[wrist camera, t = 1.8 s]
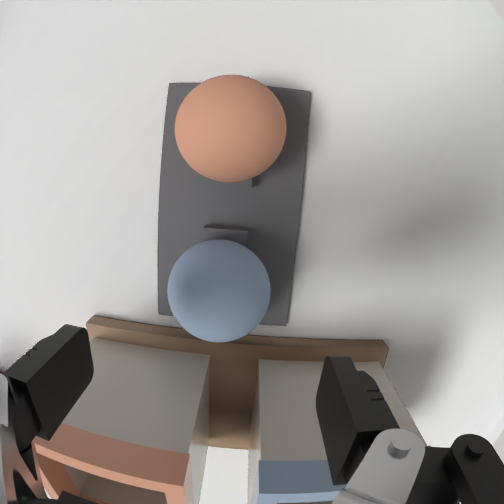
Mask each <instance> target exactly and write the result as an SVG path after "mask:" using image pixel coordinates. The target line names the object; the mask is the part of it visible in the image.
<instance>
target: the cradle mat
mask: <svg viewBox="0 0 504 504" xmlns="http://www.w3.org/2000/svg"><path fill="white" fill-rule="evenodd" d="M199 84H201V83H169V89H168V97H167V106H166V115H165V125H164V135H163V146H162V159H161V174H160V191H159V214H158V314H161V315H169V316H174V315H173V313H172V311H171V308H170V305H169V301H168V293H167V288H168V281H169V276H170V273H171V270H172V268H173V267H174V265H175V263H176V261H177V260H178V259H179V257H180V256H181V255H182V254H183V253H184V252H186V251H187V250H188V249H190V248H191V247H193V246H194V245H196V244H198V243H201V242H204V241H208V240H216V239H221V240H230V241H233V242H236V243H239V244H241V245H243V246H245V247H246V248H248V249H249V250H251V251H252V252H253V253H254V254H255V255H256V256H257V257H258V258H259V259H260V261H261V262H262V263H263V265H264V267H265V269H266V271H267V274H268V277H269V281H270V288H271V291H270V302H269V306H268V309H267V311H266V313H265V315H264V317H263V319H262V320H261V322H260V323H259V324H263V325H278V326H286V321H287V314H288V307H289V300H290V292H291V284H292V277H293V269H294V261H295V252H296V244H297V235H298V226H299V217H300V207H301V198H302V188H303V177H304V166H305V155H306V143H307V131H308V117H309V103H310V91H304V90H296V89H288V88H279V87H269V86H266V87H267V88H268V89H269V90H271V91H272V92H273V94H274V95H275V96H276V97H277V99H278V100H279V102H280V104H281V106H282V108H283V111H284V114H285V118H286V137H285V142H284V145H283V148H282V150H281V152H280V154H279V156H278V157H277V159H276V160H275V161H274V162H273V164H272V165H271V166H270V167H269V168H268V169H266V170H265V171H264V172H262V173H261V174H259V175H257V176H255V177H253V178H251V179H248V180H244V181H240V182H220V181H216V180H212V179H209V178H207V177H204V176H203V175H201V174H199V173H198V172H196V171H195V170H194V169H192V168H191V167H190V166H189V165H188V164H187V162H186V161H185V160H184V158H183V157H182V155H181V153H180V151H179V148H178V146H177V143H176V138H175V120H176V116H177V112H178V110H179V108H180V105H181V104H182V102H183V100H184V99H185V97H186V96H187V95H188V94H189V93H190V92H191V91H192V90H193V89H194V88H195V87H196V86H198V85H199Z"/></svg>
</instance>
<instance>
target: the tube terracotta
mask: <svg viewBox="0 0 504 504" xmlns="http://www.w3.org/2000/svg"><path fill="white" fill-rule="evenodd" d="M90 348H91V354H92V360H93V365H94V373H93V378H92V381H91V382H90V384H89V385H88V387H87V388H86V389H85V391H84V392H83V394H82V395H81V396H80V398H79V399H78V401H77V402H76V403H75V405H74V406H73V408H72V409H71V410H70V412H69V413H68V415H67V416H66V417H65V419H64V420H63V422H62V423H61V425H60V426H59V428H58V429H57V430H56V432H55V433H54V435H53V436H52V438H51V439H50V441H47V440H45V439H42V438H40V437H37V436H36V437H35V438H34V439H33V442H34V444H35V447H36V453H37V459H38V464H39V469H40V473H41V478H42V482H43V486H44V488H45V489H46V491H47V492H48V494H49V495H50V496H51V498H52V499H58V498H59V496H60V494H61V492H62V490H63V491H66V492H68V493H71V494H73V495H76V496H79V497H81V498H84V499H87V500H90V501H92V502H95V503H98V504H199V501H200V494H201V488H202V481H203V475H204V468H205V462H206V455H207V449H208V443H209V396H210V355H206V354H197V353H189V352H181V351H173V350H166V349H159V348H152V347H146V346H139V345H133V344H128V343H122V342H116V341H111V340H106V339H100V338H95V337H94V338H93V339H92V340H91V341H90Z"/></svg>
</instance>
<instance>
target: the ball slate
mask: <svg viewBox="0 0 504 504" xmlns="http://www.w3.org/2000/svg"><path fill="white" fill-rule="evenodd" d="M270 291H271V288H270V281H269V277H268V274H267V271H266V269H265V267H264V265H263V263H262V262H261V261H260V259H259V258H258V257H257V256H256V255H255V254H254V253H253V252H252V251H251V250H249V249H248V248H246V247H245V246H243V245H241V244H239V243H236V242H233V241H230V240H221V239H216V240H208V241H204V242H201V243H198V244H196V245H194V246H193V247H191V248H190V249H188V250H187V251H186V252H184V253H183V254H182V255H181V256H180V257H179V259H178V260H177V261H176V263H175V265H174V267H173V268H172V270H171V273H170V276H169V281H168V288H167V293H168V301H169V305H170V308H171V311H172V313H173V315H174V317H175V318H176V320H177V321H178V323H179V324H180V325H181V326H182V327H183V328H184V329H185V330H186V331H187V332H189V333H190V334H192V335H193V336H195V337H197V338H200V339H202V340H205V341H209V342H229V341H233V340H236V339H239V338H241V337H243V336H245V335H247V334H248V333H250V332H251V331H252V330H253V329H254V328H255V327H256V326H257V325H258V324H259V323H260V322H261V320H262V319H263V317H264V315H265V313H266V311H267V309H268V306H269V302H270Z"/></svg>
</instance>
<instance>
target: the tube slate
mask: <svg viewBox="0 0 504 504" xmlns="http://www.w3.org/2000/svg"><path fill="white" fill-rule="evenodd" d="M353 363H354V365H355V367H356V369H357V371H365V372H366V373H367V374H369V375H370V376H371V377H372V378H373V379H375V381H376V383H377V385H378V387H379V389H380V392H382V394H383V396H384V400H386V402H387V404H388V406H389V408H390V410H391V411H392V413H393V415H394V417H395V419H396V421H397V423H398V425H399V427H400V429H404V430H407V431H410V432H412V433H414V434H415V435H417V436H418V437H419V438H420V439H421V440H422V442H423V443H424V446H427V444H426V443H425V441H424V439H423V437H422V435H421V434H420V432H419V430H418V428H417V426H416V425H415V423H414V421H413V419H412V418H411V416H410V414H409V412H408V411H407V409H406V407H405V405H404V404H403V402H402V400H401V398H400V397H399V395H398V393H397V392H396V390H395V388H394V386H393V385H392V383H391V381H390V380H389V378H388V376H387V375H386V373H385V371H384V370H383V368H382V366H381V365H380V363H379V361H376V362H353ZM323 364H324V362H310V361H283V360H265V359H259V362H258V371H257V379H256V388H255V396H254V404H253V412H252V420H251V428H250V436H249V453H248V497H247V504H331V503H332V502H333V501H334V499H335V498H336V496H337V495H338V494H339V492H340V491H341V490H342V489H343V488H345V486H346V484H345V485H334V486H333V483H332V478H331V474H330V469H329V465H328V460H327V456H326V451H325V447H324V442H323V438H322V434H321V429H320V425H319V421H318V417H317V412H316V394H317V390H318V386H319V381H320V377H321V373H322V369H323ZM427 447H431V446H427Z"/></svg>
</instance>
